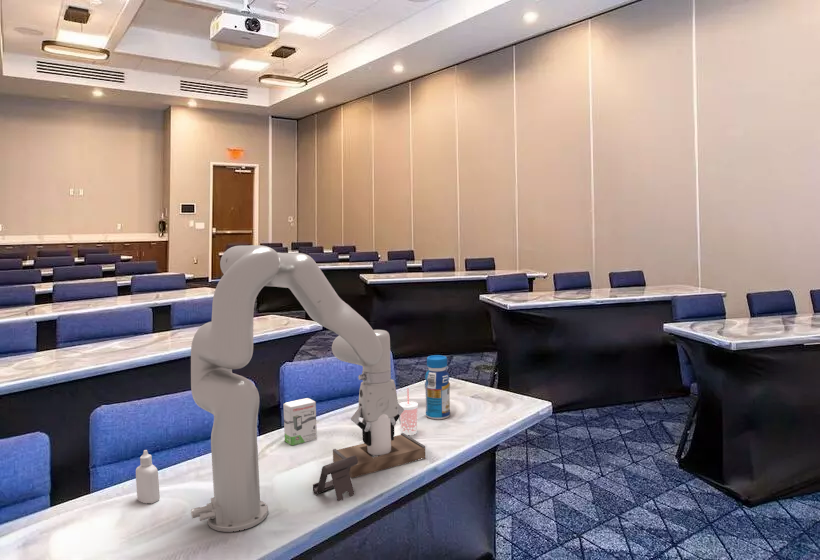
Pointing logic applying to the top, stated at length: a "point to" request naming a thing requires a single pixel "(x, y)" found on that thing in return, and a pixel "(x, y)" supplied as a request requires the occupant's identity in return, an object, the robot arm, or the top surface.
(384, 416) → the can
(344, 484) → the portable electronic device stand
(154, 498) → the eye dropper bottle
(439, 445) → the top surface
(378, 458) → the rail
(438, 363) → the beverage bottle
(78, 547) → the top surface
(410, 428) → the beverage cup
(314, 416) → the ink box
